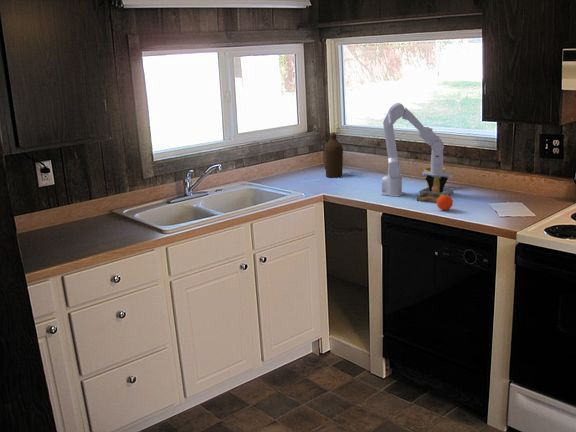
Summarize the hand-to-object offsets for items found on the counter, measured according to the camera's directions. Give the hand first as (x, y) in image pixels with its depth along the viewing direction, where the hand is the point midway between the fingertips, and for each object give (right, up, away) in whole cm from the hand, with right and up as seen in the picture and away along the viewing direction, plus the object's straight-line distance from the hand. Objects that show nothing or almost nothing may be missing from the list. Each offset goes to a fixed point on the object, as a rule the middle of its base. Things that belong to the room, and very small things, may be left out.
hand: (436, 191), depth 305 cm
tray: (-4, -4, -10) cm, 12 cm away
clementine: (-3, -9, -28) cm, 29 cm away
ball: (0, +1, 0) cm, 2 cm away
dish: (0, -1, 0) cm, 1 cm away
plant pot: (+2, +2, +14) cm, 15 cm away
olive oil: (-46, +11, +53) cm, 71 cm away
